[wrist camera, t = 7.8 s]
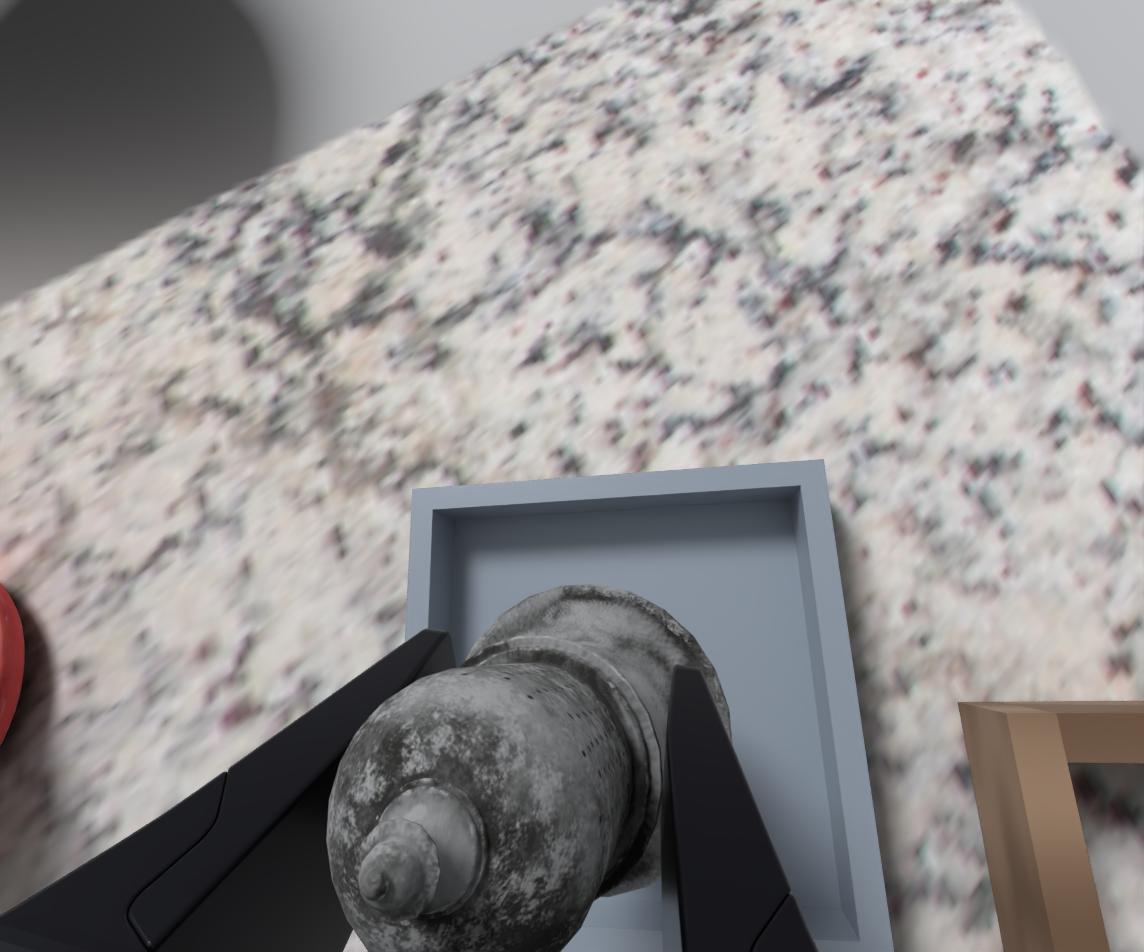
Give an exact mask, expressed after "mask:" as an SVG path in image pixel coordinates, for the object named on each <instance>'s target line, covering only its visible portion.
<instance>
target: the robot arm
mask: <svg viewBox="0 0 1144 952" xmlns="http://www.w3.org/2000/svg"><path fill="white" fill-rule="evenodd" d="M452 668H457V665H456V659H455V653H454V648H453V642H452V637H451V635H450V633H449V632H448V631H446V630H439V629H432V628H426V629H423V630H422V631H420V632H419V633H417V634H416V635H414V636H413V637H412V638H410V639H409V640H407V641H406V642H405V643H403V644H402V645H400V646H399V647H398V648H396V649H395V650H393V651H392V652H391V653H389V654H388V655H386V656H385V657H384V658H382V659H381V660H379V661H378V662H377V663H375V664H374V665H372V666H371V667H370V668H368V669H367V670H365V671H364V672H363V673H361V674H360V675H358V676H357V677H356V678H354V679H353V680H351V681H350V682H349V683H347V684H346V685H344V686H343V687H342V688H340V689H339V690H337V691H336V692H335V693H333V694H332V695H330V696H329V697H328V698H326V699H325V700H323V701H322V702H321V703H319V704H318V705H316V706H315V707H314V708H312V709H311V710H309V711H308V712H307V713H305V714H304V715H303V716H301V717H300V718H298V719H297V720H296V721H294V722H293V723H291V724H290V725H289V726H287V727H286V728H284V729H283V730H282V731H280V732H279V733H277V734H276V735H275V736H273V737H272V738H270V739H269V740H268V741H266V742H265V743H263V744H262V745H261V746H259V747H258V748H256V749H255V750H254V751H252V752H251V753H249V754H248V755H247V756H245V757H244V758H242V759H241V760H240V761H238V762H237V763H235V764H234V765H233V766H231V767H230V768H229V770H228V772H222V773H221V774H220V775H218V776H217V777H215V778H214V779H213V780H211V781H210V782H208V783H207V784H206V785H204V786H203V787H201V788H200V789H199V790H197V791H196V792H194V793H193V794H191V795H190V796H188V797H187V798H186V799H184V800H183V801H181V802H180V803H178V804H177V805H175V806H174V807H172V808H171V809H170V810H168V811H167V812H165V813H164V814H162V815H161V816H159V817H158V818H156V819H155V820H153V821H152V822H150V823H148V824H147V825H145V826H144V827H142V828H141V829H139V830H137V831H136V832H134V833H133V834H131V835H130V836H128V837H127V838H125V839H123V840H122V841H120V842H119V843H117V844H116V845H114V846H112V847H111V848H109V849H108V850H106V851H104V852H103V853H101V854H99V855H98V856H96V857H95V858H93V859H91V860H90V861H88V862H87V863H85V864H83V865H82V866H80V867H78V868H77V869H75V870H74V871H72V872H70V873H69V874H67V875H66V876H64V877H62V878H61V879H59V880H57V881H56V882H54V883H53V884H51V885H49V886H48V887H46V888H45V889H43V890H41V891H40V892H38V893H36V894H35V895H33V896H32V897H30V898H28V899H27V900H25V901H24V902H22V903H20V904H19V905H17V906H15V907H14V908H12V909H11V910H9V911H7V912H5V913H4V914H2V915H0V952H343V950H344V948H345V946H346V944H347V942H348V939H349V937H350V935H351V933H352V931H353V928H352V926H351V925H350V924H349V922H348V921H347V919H346V916H345V914H344V911H343V908H342V906H341V903H340V900H339V898H338V895H337V892H336V890H335V887H334V884H333V882H332V877H331V870H330V863H329V856H328V848H327V841H326V836H327V822H328V807H329V798H330V794H331V791H332V788H333V784H334V781H335V777H336V774H337V770H338V767H339V763H340V761H341V759H342V757H343V756H344V754H345V752H346V750H347V748H348V746H349V745H350V743H351V741H352V739H353V737H354V736H355V734H356V732H357V730H358V729H359V728H360V727H361V726H362V724H363V723H364V722H365V721H366V720H367V719H368V718H369V717H370V716H371V715H372V714H373V712H374V711H375V710H376V709H377V708H378V707H379V706H380V705H381V704H382V703H383V702H385V701H386V700H387V699H389V698H390V697H392V696H393V695H395V694H396V693H398V692H399V691H401V690H402V689H404V688H406V687H407V686H409V685H410V684H412V683H413V682H415V681H416V680H418V679H419V678H422V677H425V676H429V675H432V674H435V673H438V672H442V671H445V670H448V669H452ZM660 837H661V885H662V932H663V952H819V951H818V949H817V947H816V944H815V942H814V940H813V938H812V935H811V933H810V931H809V929H808V926H807V924H806V921H805V919H804V916H803V914H802V912H801V909H800V907H799V904H798V902H797V899H796V897H795V896H794V895H793V894H791V891H792V888H791V886H790V883H789V881H788V878H787V876H786V874H785V871H784V869H783V866H782V864H781V861H780V859H779V857H778V854H777V852H776V849H775V847H774V844H773V842H772V840H771V837H770V835H769V832H768V830H767V827H766V825H765V823H764V820H763V818H762V815H761V813H760V810H759V808H758V806H757V803H756V801H755V798H754V796H753V793H752V791H751V789H750V786H749V784H748V781H747V779H746V776H745V774H744V772H743V769H742V767H741V764H740V762H739V759H738V757H737V755H736V752H735V750H734V747H733V745H732V742H731V740H730V737H729V735H728V733H727V730H726V728H725V725H724V723H723V720H722V718H721V716H720V713H719V711H718V708H717V706H716V703H715V701H714V699H713V696H712V694H711V691H710V689H709V686H708V684H707V682H706V679H705V677H704V674H703V672H702V671H701V669H700V668H698V667H693V666H686V665H679V664H677V665H675V666H674V667H673V671H672V680H671V689H670V698H669V707H668V715H667V726H666V740H665V755H664V770H663V785H662V799H661V815H660Z"/></svg>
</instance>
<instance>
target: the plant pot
mask: <svg viewBox="0 0 1144 952" xmlns="http://www.w3.org/2000/svg"><path fill="white" fill-rule="evenodd" d="M24 663H25V649H24V636H23V630H22V624H21V620H20V617H19V614H18V611H17V609H16V607H15V605H14V603H13V601H12V599H11V597H10V596H9V594H8V593H7V591H6V589H5V588H4V587H3V586H2V584H1V583H0V745H1V744H2V742H3V739H4V737H5V735H6V733H7V731H8V729H9V726H10V724H11V721H12V718H13V716H14V713H15V710H16V706H17V703H18V700H19V696H20V691H21V686H22V680H23V673H24Z"/></svg>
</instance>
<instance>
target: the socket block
mask: <svg viewBox="0 0 1144 952" xmlns="http://www.w3.org/2000/svg"><path fill="white" fill-rule="evenodd" d="M958 706H959V711H960V716H961V722H962V727H963V733H964V738H965V743H966V749H967V754H968V760H969V765H970V770H971V776H972V781H973V787H974V792H975V797H976V803H977V808H978V814H979V819H980V824H981V830H982V835H983V841H984V846H985V852H986V857H987V862H988V868H989V873H990V879H991V884H992V889H993V895H994V900H995V906H996V911H997V916H998V922H999V927H1000V933H1001V938H1002V943H1003V949H1004V952H1110V950H1109V945H1108V941H1107V937H1106V932H1105V928H1104V923H1103V919H1102V914H1101V910H1100V905H1099V901H1098V897H1097V892H1096V888H1095V883H1094V879H1093V874H1092V870H1091V865H1090V861H1089V857H1088V852H1087V848H1086V843H1085V839H1084V834H1083V830H1082V825H1081V821H1080V817H1079V812H1078V808H1077V803H1076V799H1075V794H1074V790H1073V786H1072V781H1071V777H1070V772H1069V768H1068V763H1144V701H1064V702H958Z"/></svg>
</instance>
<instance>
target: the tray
mask: <svg viewBox="0 0 1144 952" xmlns="http://www.w3.org/2000/svg"><path fill="white" fill-rule="evenodd" d="M588 584H599V585H603V586H608V587H612V588H616V589H621V590H625V591H630V592H633V593H635V594H637V595H638V596H640V597H642V598H644V599H646V600H648V601H650V602H652V603H654V604H656V605H657V606H659V607H661V608H663V609H665V610H666V611H667V612H668V613H669V614H670V615H671V616H672V617H674V618H675V619H676V620H677V621H678V622H679V623H680V624H681V625H682V626H683V627H684V628H686V629H687V630H688V631H689V632H690V633H691V634H692V635H693V636H694V637H695V639H696V640H697V642H698V644H699V645H700V647H701V648H702V650H703V651H704V653H705V654H706V656H707V657H708V659H709V660H710V662H711V663H712V665H713V666H714V668H715V669H716V672H717V675H718V678H719V681H720V684H721V687H722V689H723V692H724V695H725V698H726V701H727V704H728V707H729V711H730V722H731V733H732V744H733V747H734V750H735V752H736V755H737V757H738V759H739V762H740V764H741V767H742V769H743V772H744V774H745V776H746V779H747V781H748V784H749V786H750V789H751V791H752V793H753V796H754V798H755V801H756V803H757V806H758V808H759V810H760V813H761V815H762V818H763V820H764V823H765V825H766V827H767V830H768V832H769V835H770V837H771V840H772V842H773V844H774V847H775V849H776V852H777V854H778V857H779V859H780V861H781V864H782V866H783V869H784V871H785V874H786V876H787V878H788V881H789V883H790V886H791V888H792V891H791V894H793V895H794V896H795V897H796V899H797V902H798V904H799V907H800V909H801V912H802V914H803V916H804V919H805V921H806V924H807V926H808V929H809V931H810V933H811V935H812V938H813V940H814V942H815V944H816V947H817V949H818V951H819V952H894V947H893V940H892V933H891V926H890V919H889V912H888V905H887V898H886V891H885V884H884V877H883V870H882V863H881V856H880V849H879V842H878V835H877V828H876V821H875V814H874V807H873V800H872V793H871V786H870V780H869V773H868V766H867V759H866V752H865V745H864V738H863V731H862V724H861V717H860V710H859V703H858V696H857V689H856V682H855V675H854V668H853V661H852V654H851V647H850V640H849V633H848V626H847V619H846V612H845V605H844V598H843V591H842V584H841V577H840V570H839V563H838V556H837V549H836V542H835V535H834V528H833V521H832V514H831V507H830V500H829V493H828V486H827V479H826V472H825V465H824V459H821V460H807V461H793V462H779V463H765V464H752V465H738V466H724V467H710V468H696V469H683V470H669V471H655V472H641V473H627V474H613V475H600V476H586V477H572V478H558V479H544V480H530V481H517V482H503V483H489V484H475V485H461V486H447V487H434V488H420V489H412V507H411V528H410V548H409V569H408V589H407V610H406V630H405V642H406V641H407V640H409V639H410V638H412V637H413V636H414V635H416V634H417V633H419V632H420V631H422V630H423V629H426V628H432V629H439V630H446V631H448V632H449V633H450V635H451V637H452V642H453V648H454V653H455V659H456V665H457V668H459V667H460V666H461V665H462V664H463V662H464V661H466V659H467V657H468V655H469V653H470V651H471V649H472V648H473V646H474V644H475V642H476V641H477V640H478V639H479V638H480V636H481V635H482V634H483V633H484V632H485V631H486V630H487V629H488V628H489V627H490V626H491V624H492V623H493V622H494V621H495V620H496V619H497V618H498V617H499V616H500V615H501V614H503V613H504V612H506V611H507V610H509V609H510V608H512V607H513V606H515V605H516V604H518V603H520V602H521V601H523V600H524V599H526V598H527V597H529V596H532V595H535V594H538V593H541V592H544V591H547V590H550V589H553V588H556V587H559V586H565V585H588ZM561 952H663V932H662V885H661V878H660V879H659V880H657V881H656V882H654V883H652V884H651V885H649V886H648V887H645V888H641V889H638V890H634V891H630V892H626V893H622V894H619V895H615V896H611V897H600V898H598V899H596V900H595V901H593V903H592V906H591V908H590V910H589V912H588V914H587V916H586V918H585V921H584V923H583V925H582V927H581V929H580V930H579V931H578V932H577V933H576V935H575V936H574V937H573V938H572V939H571V940H570V942H569V943H568V944H567V945H566V946H565V947H564V949H563V950H562V951H561Z"/></svg>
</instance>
